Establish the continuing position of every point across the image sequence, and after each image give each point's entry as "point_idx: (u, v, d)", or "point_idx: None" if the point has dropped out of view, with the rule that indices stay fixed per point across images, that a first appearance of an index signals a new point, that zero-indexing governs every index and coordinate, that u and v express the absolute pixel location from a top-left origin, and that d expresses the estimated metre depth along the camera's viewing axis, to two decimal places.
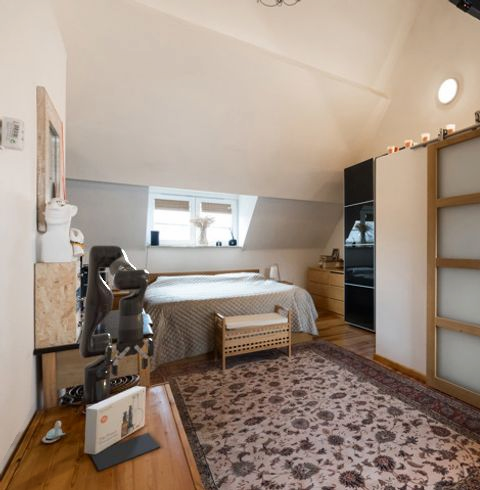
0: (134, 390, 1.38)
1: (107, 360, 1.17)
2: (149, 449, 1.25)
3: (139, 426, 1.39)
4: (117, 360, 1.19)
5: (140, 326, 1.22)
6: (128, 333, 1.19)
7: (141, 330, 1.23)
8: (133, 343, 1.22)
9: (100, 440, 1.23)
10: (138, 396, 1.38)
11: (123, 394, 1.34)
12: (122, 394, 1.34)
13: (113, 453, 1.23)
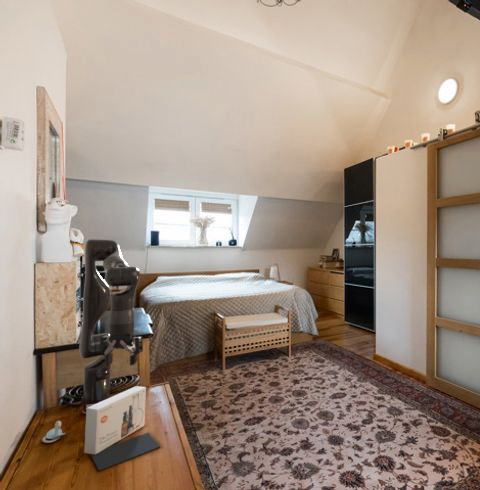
0: (134, 390, 1.38)
1: (100, 348, 1.28)
2: (149, 449, 1.25)
3: (139, 426, 1.39)
4: (108, 350, 1.28)
5: (122, 322, 1.26)
6: (111, 327, 1.25)
7: (123, 326, 1.26)
8: (121, 337, 1.28)
9: (100, 440, 1.23)
10: (138, 396, 1.38)
11: (123, 394, 1.34)
12: (122, 394, 1.34)
13: (113, 453, 1.23)
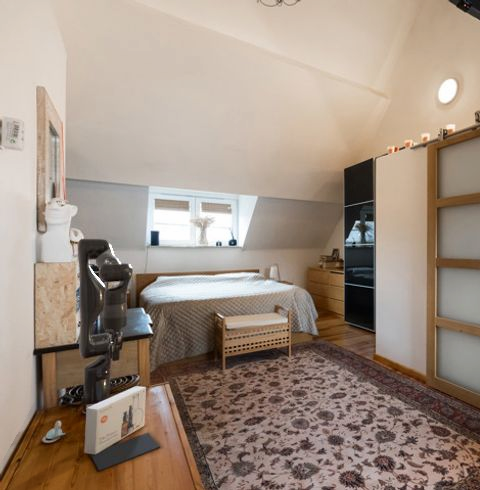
0: (134, 390, 1.38)
1: (107, 342, 1.37)
2: (149, 449, 1.25)
3: (139, 426, 1.39)
4: (109, 344, 1.36)
5: (106, 316, 1.31)
6: None
7: (108, 320, 1.31)
8: (111, 331, 1.34)
9: (100, 440, 1.23)
10: (138, 396, 1.38)
11: (123, 394, 1.34)
12: (122, 394, 1.34)
13: (113, 453, 1.23)
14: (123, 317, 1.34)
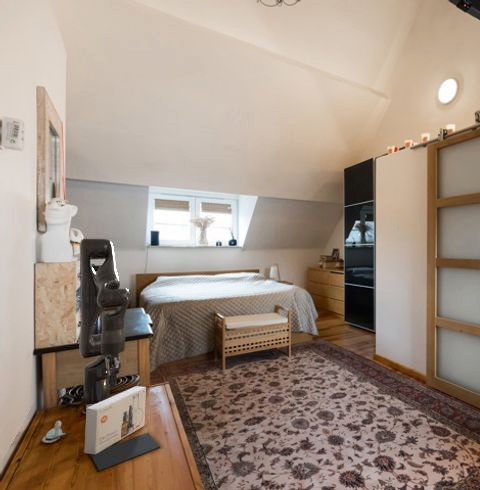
0: (134, 390, 1.38)
1: (106, 368, 1.38)
2: (149, 449, 1.25)
3: (139, 426, 1.39)
4: (108, 369, 1.36)
5: (104, 342, 1.33)
6: None
7: (106, 346, 1.33)
8: (110, 356, 1.35)
9: (100, 440, 1.23)
10: (138, 396, 1.38)
11: (123, 394, 1.34)
12: (122, 394, 1.34)
13: (113, 453, 1.23)
14: (121, 342, 1.36)
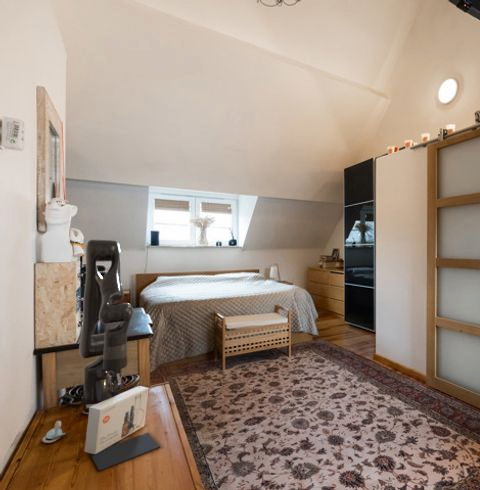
0: (137, 390, 1.38)
1: (108, 384, 1.36)
2: (149, 449, 1.25)
3: (139, 426, 1.39)
4: None
5: (107, 358, 1.30)
6: None
7: (108, 362, 1.30)
8: (112, 372, 1.33)
9: (101, 440, 1.23)
10: (140, 397, 1.38)
11: (126, 394, 1.34)
12: (125, 394, 1.34)
13: (113, 453, 1.23)
14: (123, 358, 1.34)
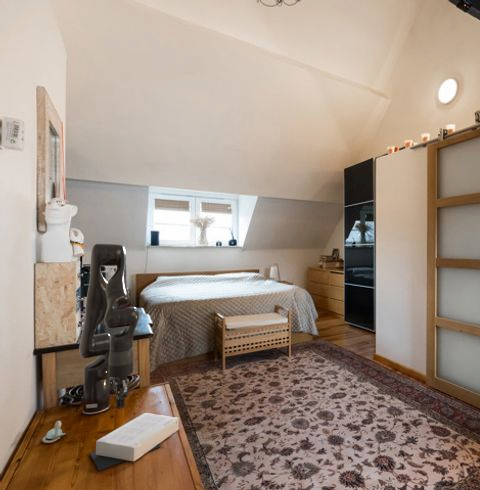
0: (170, 431, 1.34)
1: (114, 391, 1.31)
2: None
3: None
4: (116, 393, 1.29)
5: (112, 364, 1.25)
6: None
7: (114, 369, 1.26)
8: (117, 378, 1.28)
9: None
10: None
11: (162, 434, 1.30)
12: (162, 435, 1.30)
13: None
14: (129, 364, 1.29)
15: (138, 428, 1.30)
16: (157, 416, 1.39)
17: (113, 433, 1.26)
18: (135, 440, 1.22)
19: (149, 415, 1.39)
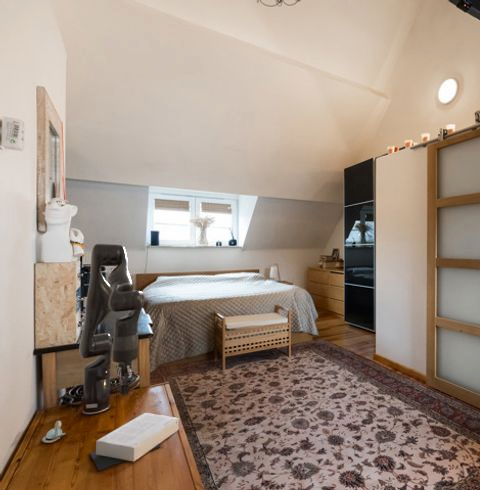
0: (170, 432, 1.34)
1: (118, 376, 1.27)
2: None
3: None
4: (120, 378, 1.26)
5: (117, 349, 1.22)
6: None
7: (118, 353, 1.22)
8: (122, 364, 1.25)
9: None
10: None
11: (162, 435, 1.30)
12: (162, 435, 1.30)
13: None
14: (134, 349, 1.25)
15: (138, 428, 1.30)
16: (157, 416, 1.39)
17: (113, 433, 1.26)
18: (135, 440, 1.22)
19: (149, 415, 1.39)
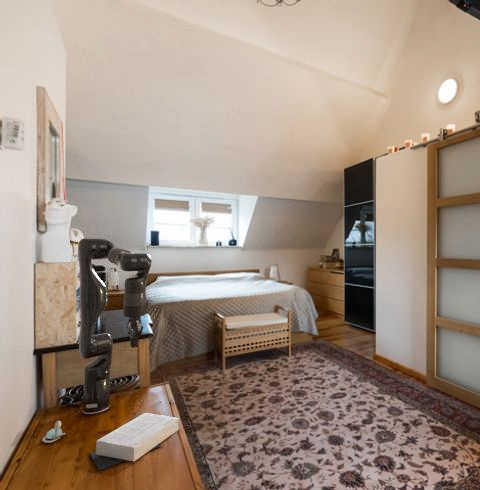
0: (170, 432, 1.34)
1: (128, 331, 1.40)
2: None
3: None
4: (130, 333, 1.38)
5: (127, 304, 1.34)
6: None
7: (128, 309, 1.34)
8: (131, 319, 1.37)
9: None
10: None
11: (162, 435, 1.30)
12: (162, 435, 1.30)
13: None
14: (143, 306, 1.37)
15: (138, 428, 1.30)
16: (157, 416, 1.39)
17: (113, 433, 1.26)
18: (135, 440, 1.22)
19: (149, 415, 1.39)
